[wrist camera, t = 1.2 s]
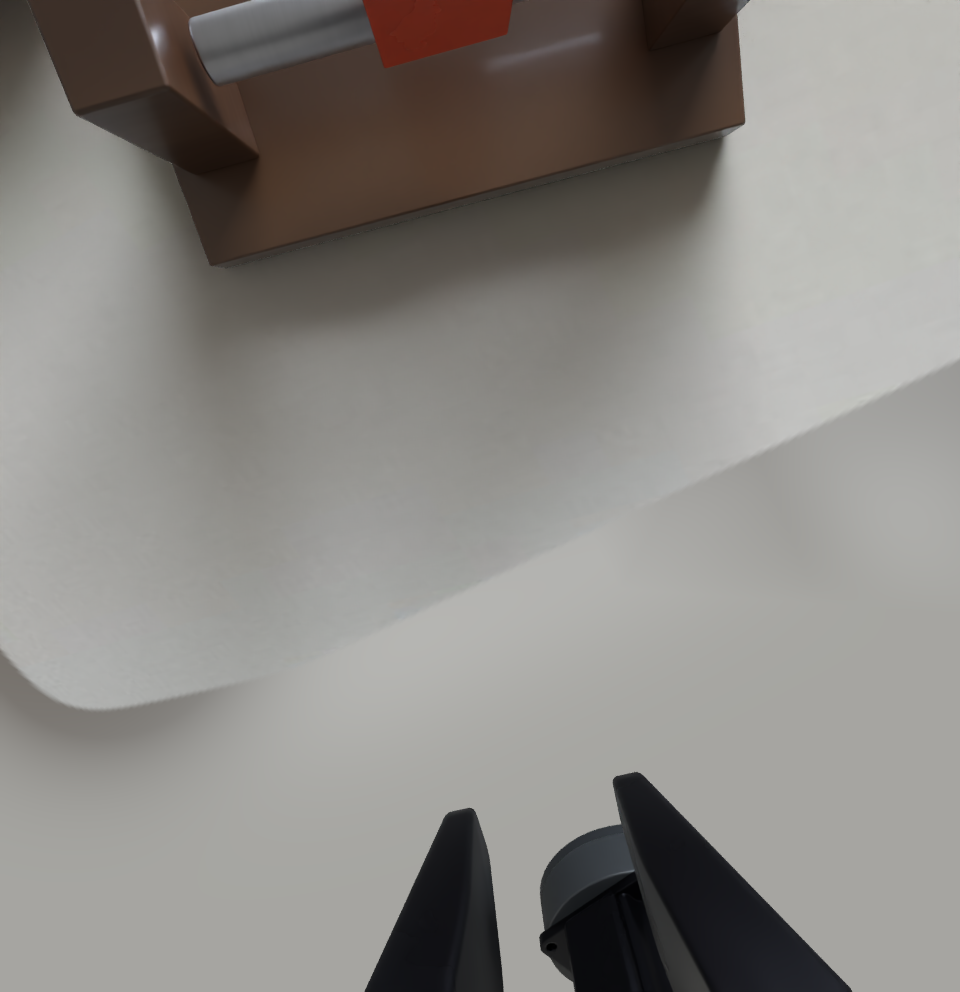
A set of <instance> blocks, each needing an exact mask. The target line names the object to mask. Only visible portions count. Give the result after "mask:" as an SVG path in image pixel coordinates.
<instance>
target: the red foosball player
mask: <svg viewBox="0 0 960 992" xmlns="http://www.w3.org/2000/svg"><path fill="white" fill-rule="evenodd" d="M523 1H527V0H251V1H247V2H244V3H240V4H237V5H233V6H230V7H226V8H223V9H220V10H216V11H213V12H209V13H206V14H202V15H199V16H195V17H192V18H190V20H189V22H188V26H189V32H190V36H191V40H192V43H193V46H194V48H195V51H196V53H197V56H198V58H199V60H200V62H201V64H202V66H203V68H204V70H205V72H206V73H207V75H208V76H209V78H210V79H211V80H212V82H213V83H214V84H215V85H217V86H224V85H228V84H231V83H235V82H239V81H242V80H246V79H249V78H253V77H256V76H260V75H264V74H267V73H271V72H274V71H278V70H281V69H285V68H288V67H292V66H296V65H299V64H303V63H306V62H310V61H313V60H317V59H320V58H324V57H328V56H331V55H335V54H338V53H342V52H345V51H349V50H353V49H356V48H360V47H363V46H367V45H370V44H374V43H376V45H377V48H378V51H379V54H380V57H381V61H382V64H383V66H384V68H389V67H392V66H396V65H399V64H403V63H407V62H410V61H414V60H417V59H421V58H425V57H428V56H432V55H435V54H439V53H443V52H446V51H450V50H453V49H457V48H460V47H464V46H468V45H471V44H475V43H478V42H482V41H486V40H489V39H493V38H496V37H500V36H504V35H506V34H507V33H508V27H509V21H510V15H511V9H512V5H513V4H516V3H520V2H523Z"/></svg>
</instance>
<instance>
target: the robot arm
mask: <svg viewBox="0 0 960 992" xmlns="http://www.w3.org/2000/svg"><path fill="white" fill-rule="evenodd" d="M613 787H614V791H615V797H616V801H617V806H618V811H619V815H620V820H621V824H622V828H623V832H624V835H625V839H626V842H627V846H628V849H629V853H630V856H631V860H632V863H633V867H634V870H635V871H634V872H632V873H631V874H629V875H628V876H626V877H625V878H623V879H622V880H620V881H619V882H617V883H616V884H614V885H613V886H611V887H610V888H608V889H607V890H605V891H604V892H602V893H601V894H599V895H598V896H596V897H595V898H593V899H592V900H590V901H589V902H587V903H586V904H584V905H583V906H581V907H580V908H578V909H577V910H575V911H574V912H572V913H571V914H569V915H568V916H566V917H565V918H563V919H562V920H560V921H559V922H557V923H556V924H554V925H553V926H551V927H550V928H548V929H547V930H545V931H544V932H543V933H542V934H541V935H540V937H539V938H540V947H541V951H542V952H543V953H545V954H546V955H547V956H549V957H550V958H551V959H553V960H554V961H555V962H557V963H558V964H560V965H561V966H562V967H564V968H565V969H566V970H568V971H569V972H570V973H572V977H573V983H574V989H575V992H852V990H851V988H850V987H849V986H848V985H847V984H846V983H845V982H844V981H843V980H842V979H841V978H840V977H839V976H838V975H837V974H836V973H835V972H834V971H833V970H832V969H831V968H830V967H829V966H828V965H827V964H826V963H825V962H824V961H823V960H822V959H821V958H820V957H819V956H818V954H817V953H816V952H814V950H813V949H812V948H811V947H810V946H809V945H808V944H807V943H806V942H805V941H804V940H803V939H802V938H801V937H800V936H799V935H798V934H797V933H796V932H795V931H794V930H793V929H792V928H791V927H790V926H789V925H788V924H787V923H786V922H785V921H784V920H783V918H782V917H781V916H780V915H779V914H778V913H777V912H776V911H775V910H774V909H773V908H772V907H771V906H770V905H769V904H768V903H767V902H766V901H765V900H764V899H763V898H762V897H761V896H760V895H759V894H758V893H757V892H756V891H755V890H754V889H753V888H752V887H751V886H750V885H749V884H748V882H746V880H745V879H744V878H743V877H742V876H741V875H740V874H739V873H738V872H737V871H736V870H735V869H734V868H733V867H732V866H731V865H730V864H729V863H728V862H727V861H726V860H725V859H724V858H723V857H722V856H721V855H720V854H719V853H718V852H717V851H716V850H715V849H714V848H713V847H712V846H711V845H710V843H709V842H707V840H706V839H705V838H704V837H703V836H702V835H701V834H700V833H699V832H698V831H697V830H696V829H695V828H694V827H693V826H692V825H691V824H690V823H689V822H688V821H687V820H686V819H685V818H684V817H683V816H682V815H681V814H680V813H679V812H678V811H677V810H676V809H675V808H674V807H673V805H672V804H671V803H669V801H668V800H667V799H666V798H665V797H664V796H663V795H662V794H661V793H660V792H659V791H658V790H657V789H656V788H655V787H654V786H653V785H652V784H651V783H650V782H649V781H648V780H647V779H646V778H645V777H644V776H643V775H642V774H641V773H638V772H634V773H629V774H625V775H620V776H616V777H615V778H614V779H613ZM365 992H503V977H502V967H501V957H500V948H499V938H498V929H497V921H496V911H495V902H494V895H493V884H492V876H491V866H490V859H489V854H488V849H487V846H486V842H485V839H484V836H483V833H482V830H481V827H480V824H479V821H478V818H477V815H476V812H475V811H474V809H472V808H467V809H462V810H457V811H453V812H449V813H448V814H447V815H446V816H445V817H444V819H443V822H442V824H441V826H440V828H439V830H438V832H437V835H436V837H435V839H434V841H433V843H432V845H431V848H430V850H429V852H428V854H427V856H426V859H425V861H424V863H423V865H422V867H421V870H420V872H419V874H418V876H417V878H416V880H415V883H414V885H413V887H412V889H411V891H410V894H409V896H408V898H407V900H406V902H405V904H404V907H403V909H402V911H401V913H400V915H399V918H398V920H397V922H396V924H395V926H394V928H393V931H392V933H391V935H390V937H389V940H388V941H387V944H386V946H385V948H384V950H383V953H382V955H381V957H380V959H379V961H378V963H377V965H376V968H375V970H374V972H373V974H372V976H371V979H370V981H369V983H368V985H367V988H366V989H365Z"/></svg>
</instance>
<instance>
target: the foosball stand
mask: <svg viewBox="0 0 960 992" xmlns="http://www.w3.org/2000/svg"><path fill="white" fill-rule="evenodd" d="M27 1H28V4H29V6H30V8H31V11H32V13H33V16H34V18H35V21H36V23H37V25H38V28H39V30H40V33H41V35H42V38H43V40H44V42H45V45H46V47H47V50H48V52H49V55H50V57H51V60H52V62H53V64H54V67H55V69H56V72H57V74H58V77H59V79H60V81H61V84H62V86H63V89H64V91H65V94H66V96H67V98H68V101H69V103H70V106H71V108H72V111H73V112H74V113H75V114H76V116H78V117H80V118H82V119H84V120H86V121H88V122H90V123H92V124H94V125H96V126H98V127H100V128H102V129H104V130H106V131H108V132H110V133H112V134H114V135H116V136H118V137H120V138H122V139H124V140H126V141H128V142H130V143H132V144H134V145H136V146H138V147H140V148H142V149H144V150H146V151H148V152H150V153H152V154H154V155H156V156H158V157H160V158H162V159H164V160H166V161H168V162H170V163H172V165H173V168H174V170H175V173H176V176H177V178H178V181H179V184H180V186H181V189H182V192H183V195H184V197H185V200H186V203H187V205H188V208H189V211H190V213H191V216H192V219H193V222H194V224H195V227H196V230H197V232H198V235H199V238H200V240H201V243H202V246H203V249H204V251H205V254H206V257H207V259H208V262H209V264H210V265H211V266H216V267H221V268H230V267H234V266H238V265H242V264H245V263H249V262H253V261H257V260H260V259H264V258H268V257H272V256H275V255H279V254H283V253H287V252H291V251H294V250H298V249H302V248H306V247H309V246H313V245H317V244H321V243H324V242H328V241H332V240H336V239H340V238H343V237H347V236H351V235H355V234H358V233H362V232H366V231H370V230H374V229H377V228H381V227H385V226H389V225H392V224H396V223H400V222H404V221H407V220H411V219H415V218H419V217H423V216H426V215H430V214H434V213H438V212H441V211H445V210H449V209H453V208H457V207H460V206H464V205H468V204H472V203H475V202H479V201H483V200H487V199H490V198H494V197H498V196H502V195H506V194H509V193H513V192H517V191H521V190H524V189H528V188H532V187H536V186H540V185H543V184H547V183H551V182H555V181H558V180H562V179H566V178H570V177H573V176H577V175H581V174H585V173H589V172H592V171H596V170H600V169H604V168H607V167H611V166H615V165H619V164H622V163H626V162H630V161H634V160H638V159H641V158H645V157H649V156H653V155H656V154H660V153H664V152H668V151H672V150H675V149H679V148H683V147H687V146H690V145H694V144H698V143H702V142H705V141H709V140H713V139H717V138H721V137H724V136H727V135H728V134H730V133H731V132H733V131H734V130H736V129H738V128H739V127H741V126H742V125H744V124H745V112H744V99H743V86H742V72H741V59H740V46H739V33H738V19H737V13H738V12H739V11H740V10H741V9H742V8H743V7H744V6H745V5H746V4H747V3H748V2H749V1H750V0H527V1H523V2H520V3H516V4H513V5H512V9H511V15H510V21H509V27H508V33H507V34H506V35H504V36H500V37H496V38H493V39H489V40H486V41H482V42H478V43H475V44H471V45H468V46H464V47H460V48H457V49H453V50H450V51H446V52H443V53H439V54H435V55H432V56H428V57H425V58H421V59H417V60H414V61H410V62H407V63H403V64H399V65H396V66H392V67H389V68H384V66H383V64H382V61H381V57H380V54H379V51H378V48H377V45H376V43H374V44H370V45H367V46H363V47H360V48H356V49H353V50H349V51H345V52H342V53H338V54H335V55H331V56H328V57H324V58H320V59H317V60H313V61H310V62H306V63H303V64H299V65H296V66H292V67H288V68H285V69H281V70H278V71H274V72H271V73H267V74H264V75H260V76H256V77H253V78H249V79H246V80H242V81H239V82H235V83H231V84H228V85H224V86H217V85H215V84H214V83H213V82H212V80H211V79H210V78H209V76H208V75H207V73H206V72H205V70H204V68H203V66H202V64H201V62H200V60H199V58H198V56H197V53H196V51H195V48H194V46H193V43H192V40H191V36H190V32H189V26H188V22H189V20H190V18H192V17H195V16H199V15H202V14H206V13H209V12H213V11H216V10H220V9H223V8H226V7H230V6H233V5H237V4H240V3H244V2H247V1H251V0H27Z"/></svg>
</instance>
